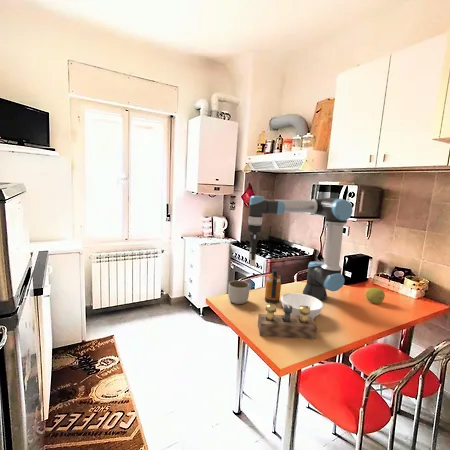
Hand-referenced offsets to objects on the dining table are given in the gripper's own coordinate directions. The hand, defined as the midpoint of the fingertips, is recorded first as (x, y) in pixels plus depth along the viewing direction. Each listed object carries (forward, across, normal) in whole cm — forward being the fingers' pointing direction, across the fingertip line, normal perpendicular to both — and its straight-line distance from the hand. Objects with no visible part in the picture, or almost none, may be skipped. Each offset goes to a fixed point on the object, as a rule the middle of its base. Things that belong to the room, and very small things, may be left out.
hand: (251, 262), depth 150 cm
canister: (+27, -12, +15) cm, 33 cm away
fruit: (+27, -24, +82) cm, 89 cm away
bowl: (+27, +3, +29) cm, 40 cm away
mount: (+27, +23, +18) cm, 39 cm away
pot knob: (+24, +23, +17) cm, 37 cm away
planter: (+27, -8, -6) cm, 29 cm away
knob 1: (+24, +23, +9) cm, 34 cm away
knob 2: (+23, +23, +25) cm, 41 cm away
